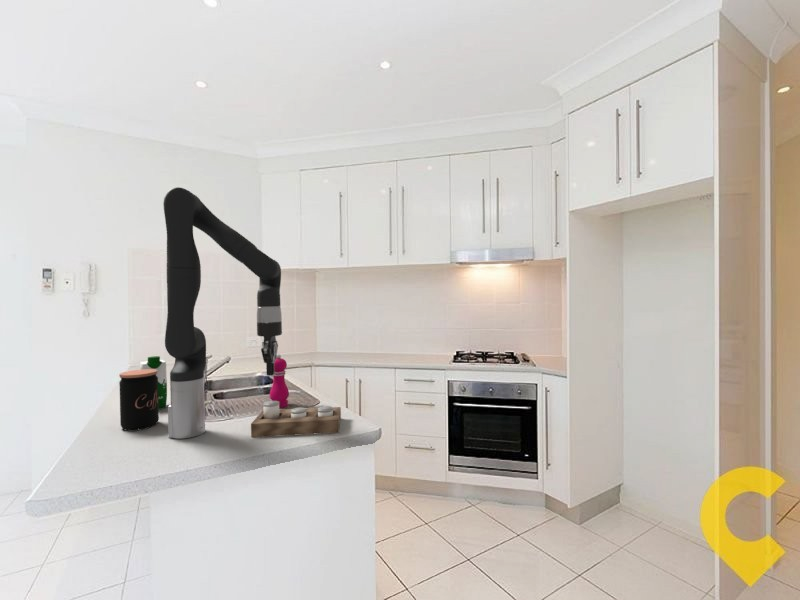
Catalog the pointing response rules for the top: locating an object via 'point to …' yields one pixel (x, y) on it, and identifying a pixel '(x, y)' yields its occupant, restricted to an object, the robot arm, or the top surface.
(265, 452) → the top surface
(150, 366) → the milk carton
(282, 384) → the pepper mill
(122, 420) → the coffee jar
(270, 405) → the knob
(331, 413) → the knob
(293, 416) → the middle knob
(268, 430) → the control board
